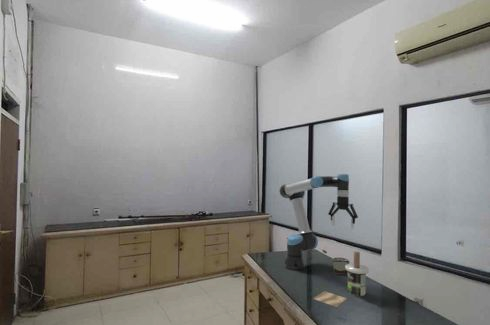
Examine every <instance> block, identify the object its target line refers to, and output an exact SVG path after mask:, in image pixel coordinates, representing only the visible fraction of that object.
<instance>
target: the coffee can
mask: <svg viewBox="0 0 490 325" xmlns="http://www.w3.org/2000/svg"><path fill="white" fill-rule="evenodd" d="M366 278H367V273H366V274H357V273H352V272H349V271H348V274H347V293H348V294H349V295H352V296H353V297H364V296H366V283H367V282H366V280H367V279H366Z"/></svg>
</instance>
